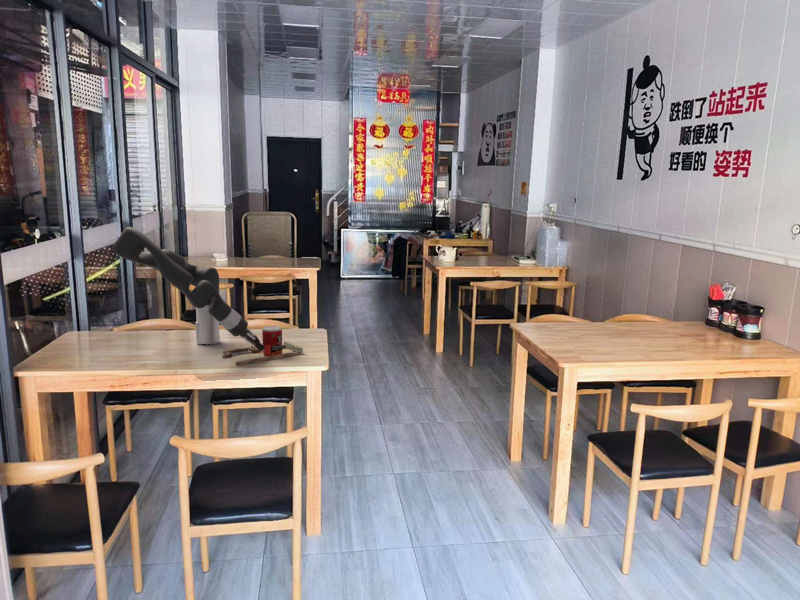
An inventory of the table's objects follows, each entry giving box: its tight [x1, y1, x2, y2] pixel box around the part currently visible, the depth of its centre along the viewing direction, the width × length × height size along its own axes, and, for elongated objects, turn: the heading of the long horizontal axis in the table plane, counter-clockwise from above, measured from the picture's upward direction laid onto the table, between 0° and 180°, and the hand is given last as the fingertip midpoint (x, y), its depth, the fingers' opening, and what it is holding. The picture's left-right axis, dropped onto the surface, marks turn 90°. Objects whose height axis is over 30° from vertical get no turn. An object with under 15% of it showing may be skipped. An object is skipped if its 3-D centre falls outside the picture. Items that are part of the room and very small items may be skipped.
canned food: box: [261, 325, 283, 357], centre depth 243 cm, size 8×8×11 cm
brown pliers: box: [221, 340, 304, 367], centre depth 244 cm, size 28×20×2 cm
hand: (262, 348), depth 241 cm, fingers closed
